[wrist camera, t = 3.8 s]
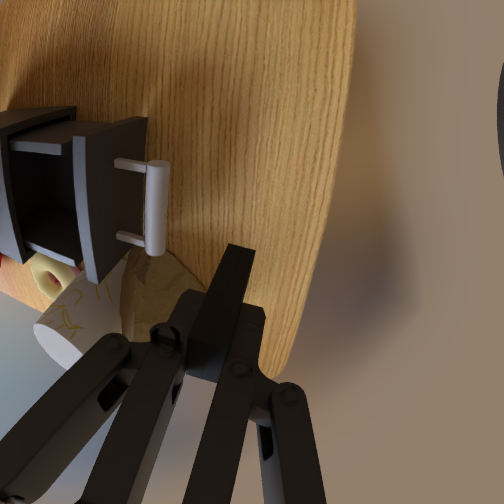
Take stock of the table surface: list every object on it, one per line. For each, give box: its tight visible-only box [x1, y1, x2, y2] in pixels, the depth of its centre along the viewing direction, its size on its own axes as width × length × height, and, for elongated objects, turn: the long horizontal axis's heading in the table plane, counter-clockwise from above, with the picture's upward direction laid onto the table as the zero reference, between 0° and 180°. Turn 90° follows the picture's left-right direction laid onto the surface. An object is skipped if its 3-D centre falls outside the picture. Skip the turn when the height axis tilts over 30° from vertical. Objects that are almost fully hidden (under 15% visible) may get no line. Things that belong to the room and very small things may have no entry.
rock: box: [119, 236, 206, 342], centre depth 26 cm, size 11×9×10 cm
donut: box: [31, 252, 80, 302], centre depth 31 cm, size 10×5×9 cm
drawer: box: [7, 116, 171, 285], centre depth 20 cm, size 18×11×8 cm, turn 78°
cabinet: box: [0, 106, 76, 264], centre depth 20 cm, size 15×13×10 cm
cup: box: [33, 259, 127, 370], centre depth 26 cm, size 8×8×12 cm
